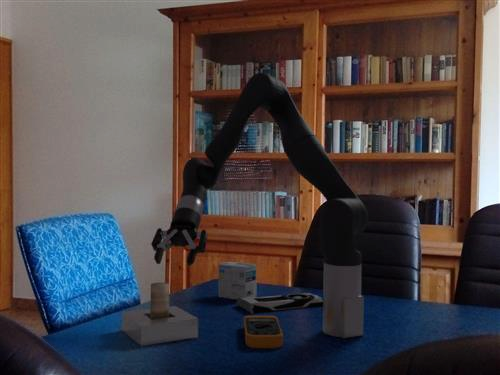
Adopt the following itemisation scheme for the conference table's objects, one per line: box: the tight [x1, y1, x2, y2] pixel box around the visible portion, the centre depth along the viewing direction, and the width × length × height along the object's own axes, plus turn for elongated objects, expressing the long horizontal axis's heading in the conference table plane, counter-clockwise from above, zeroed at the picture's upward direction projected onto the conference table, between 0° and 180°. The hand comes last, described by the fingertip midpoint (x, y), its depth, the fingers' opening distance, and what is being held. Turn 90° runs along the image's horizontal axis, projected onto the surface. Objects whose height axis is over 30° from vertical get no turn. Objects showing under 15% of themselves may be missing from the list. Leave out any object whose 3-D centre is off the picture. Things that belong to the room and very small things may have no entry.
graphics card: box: [235, 292, 323, 315], centre depth 162 cm, size 10×3×25 cm
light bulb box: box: [217, 261, 258, 300], centre depth 173 cm, size 11×7×11 cm, turn 58°
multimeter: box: [243, 315, 284, 349], centre depth 131 cm, size 9×18×3 cm, turn 2°
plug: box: [150, 282, 170, 320], centre depth 133 cm, size 4×4×12 cm
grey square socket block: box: [121, 305, 199, 347], centre depth 133 cm, size 14×14×4 cm
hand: (173, 263), depth 141 cm, fingers open, 8 cm apart
